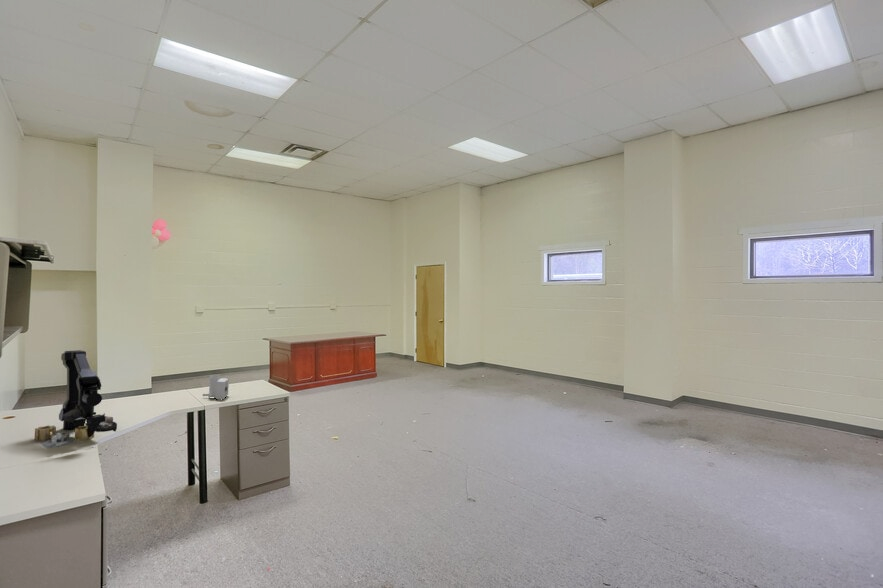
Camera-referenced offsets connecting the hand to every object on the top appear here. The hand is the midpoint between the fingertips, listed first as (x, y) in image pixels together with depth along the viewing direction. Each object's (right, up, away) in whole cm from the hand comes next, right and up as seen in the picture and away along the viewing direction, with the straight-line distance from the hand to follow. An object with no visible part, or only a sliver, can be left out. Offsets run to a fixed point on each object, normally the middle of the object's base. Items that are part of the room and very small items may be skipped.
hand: (84, 435), depth 202 cm
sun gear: (-8, -1, -4) cm, 9 cm away
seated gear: (-15, 0, -3) cm, 16 cm away
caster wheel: (-2, -3, +16) cm, 16 cm away
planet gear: (0, -1, 0) cm, 1 cm away
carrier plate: (-9, -2, -6) cm, 11 cm away
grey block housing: (+12, -5, +92) cm, 93 cm away
